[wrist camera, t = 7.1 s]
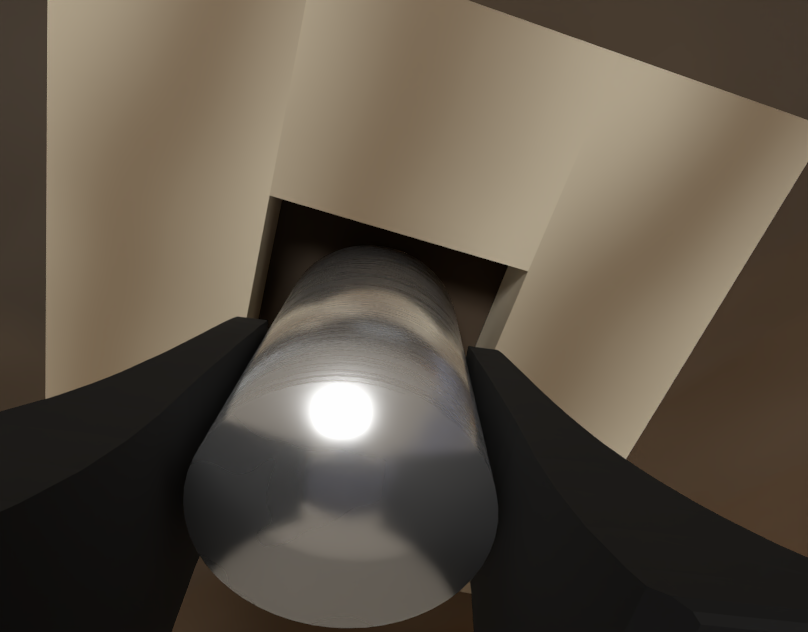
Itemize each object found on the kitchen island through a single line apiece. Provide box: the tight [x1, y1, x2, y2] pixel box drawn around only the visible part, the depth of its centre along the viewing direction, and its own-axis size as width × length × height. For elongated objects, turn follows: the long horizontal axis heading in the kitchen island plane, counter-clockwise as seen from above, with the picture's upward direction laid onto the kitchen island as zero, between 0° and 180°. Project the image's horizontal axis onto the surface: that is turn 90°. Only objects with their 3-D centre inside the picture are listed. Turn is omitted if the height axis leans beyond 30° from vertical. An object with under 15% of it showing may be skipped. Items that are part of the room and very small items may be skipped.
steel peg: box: [183, 245, 498, 628], centre depth 9 cm, size 4×4×6 cm
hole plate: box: [46, 0, 808, 594], centre depth 12 cm, size 14×14×2 cm
